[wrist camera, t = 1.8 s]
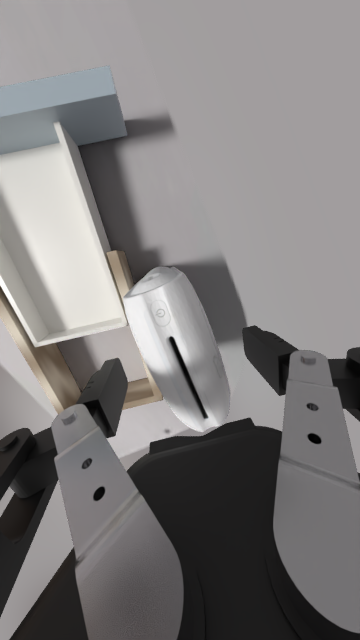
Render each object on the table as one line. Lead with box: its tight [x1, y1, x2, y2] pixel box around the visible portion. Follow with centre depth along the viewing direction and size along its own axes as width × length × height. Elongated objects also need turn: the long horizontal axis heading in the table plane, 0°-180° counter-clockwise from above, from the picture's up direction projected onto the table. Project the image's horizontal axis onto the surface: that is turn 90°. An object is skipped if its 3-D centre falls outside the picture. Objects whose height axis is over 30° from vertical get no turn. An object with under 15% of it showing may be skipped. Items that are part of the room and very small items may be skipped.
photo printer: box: [123, 266, 230, 432], centre depth 15 cm, size 10×4×12 cm, turn 21°
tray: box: [0, 66, 129, 347], centre depth 15 cm, size 16×17×4 cm
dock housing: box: [0, 250, 163, 415], centre depth 19 cm, size 16×11×4 cm
